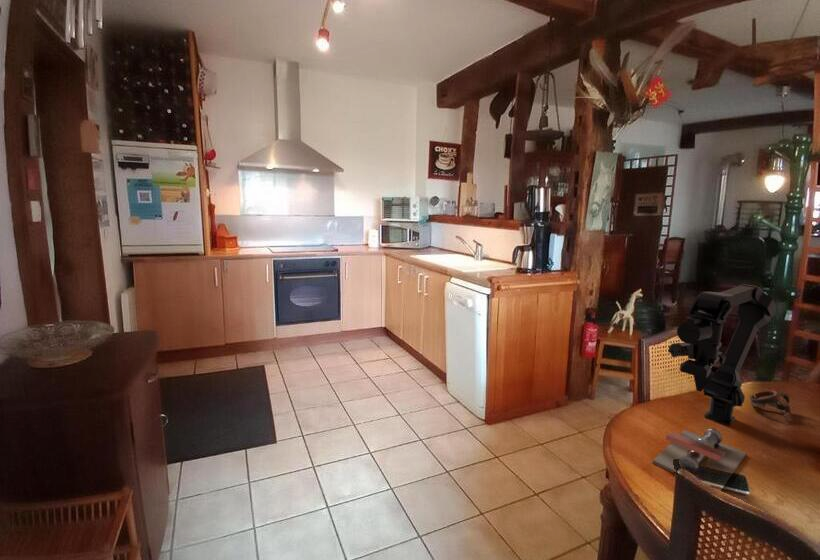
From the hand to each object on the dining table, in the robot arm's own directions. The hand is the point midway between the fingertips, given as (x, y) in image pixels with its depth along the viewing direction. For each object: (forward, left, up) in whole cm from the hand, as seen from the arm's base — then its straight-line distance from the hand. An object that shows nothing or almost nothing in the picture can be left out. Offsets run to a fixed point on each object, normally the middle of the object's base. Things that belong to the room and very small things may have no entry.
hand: (698, 390), depth 117 cm
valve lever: (+16, +6, -7) cm, 18 cm away
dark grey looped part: (-31, +13, -12) cm, 36 cm away
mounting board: (+16, +6, -12) cm, 21 cm away
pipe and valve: (+15, +6, -11) cm, 20 cm away
